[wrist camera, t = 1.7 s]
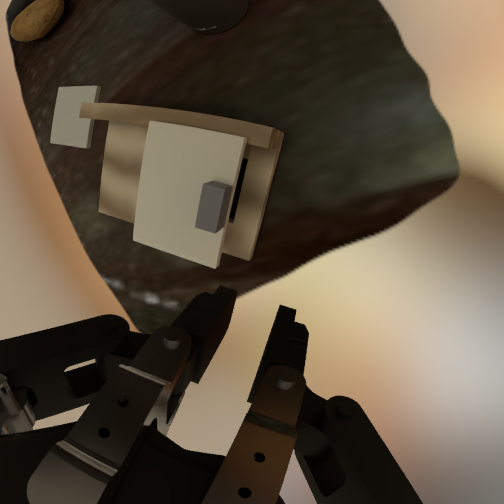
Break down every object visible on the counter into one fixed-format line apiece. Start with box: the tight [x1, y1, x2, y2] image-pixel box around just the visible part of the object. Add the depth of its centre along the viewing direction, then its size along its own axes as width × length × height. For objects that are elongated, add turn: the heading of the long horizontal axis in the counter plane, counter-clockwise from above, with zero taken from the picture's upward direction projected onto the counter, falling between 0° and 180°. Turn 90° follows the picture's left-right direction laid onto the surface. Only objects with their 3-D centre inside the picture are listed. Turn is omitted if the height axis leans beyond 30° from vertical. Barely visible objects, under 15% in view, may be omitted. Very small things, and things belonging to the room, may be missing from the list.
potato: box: [10, 0, 64, 41], centre depth 29 cm, size 10×14×8 cm
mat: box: [50, 86, 101, 148], centre depth 37 cm, size 10×10×1 cm
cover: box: [133, 121, 247, 269], centre depth 27 cm, size 13×10×3 cm
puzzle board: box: [79, 102, 284, 261], centre depth 33 cm, size 16×24×8 cm, turn 76°
